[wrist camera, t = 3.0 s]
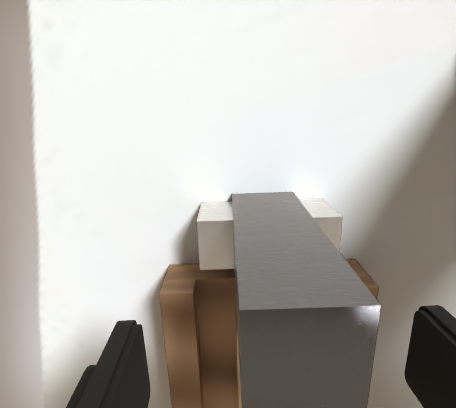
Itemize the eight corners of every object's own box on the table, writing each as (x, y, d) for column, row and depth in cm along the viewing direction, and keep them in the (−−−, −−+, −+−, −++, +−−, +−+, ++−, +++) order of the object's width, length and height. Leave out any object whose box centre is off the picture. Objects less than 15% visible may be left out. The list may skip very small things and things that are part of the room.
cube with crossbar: (200, 195, 20) (169, 312, 9) (323, 191, 20) (451, 303, 9) (204, 250, 21) (179, 417, 10) (320, 246, 21) (428, 409, 10)
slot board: (169, 264, 22) (159, 293, 18) (355, 258, 22) (378, 287, 18) (184, 413, 26) (178, 459, 23) (339, 409, 26) (356, 454, 23)
